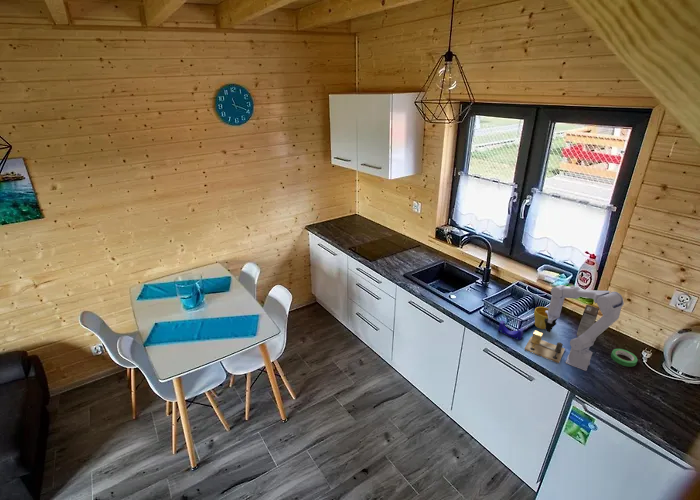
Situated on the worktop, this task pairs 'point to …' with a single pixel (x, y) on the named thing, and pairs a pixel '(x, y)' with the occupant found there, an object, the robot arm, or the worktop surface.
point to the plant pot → (540, 317)
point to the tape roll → (621, 361)
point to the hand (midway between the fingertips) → (549, 327)
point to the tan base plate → (546, 350)
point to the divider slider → (536, 338)
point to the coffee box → (587, 319)
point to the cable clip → (510, 333)
